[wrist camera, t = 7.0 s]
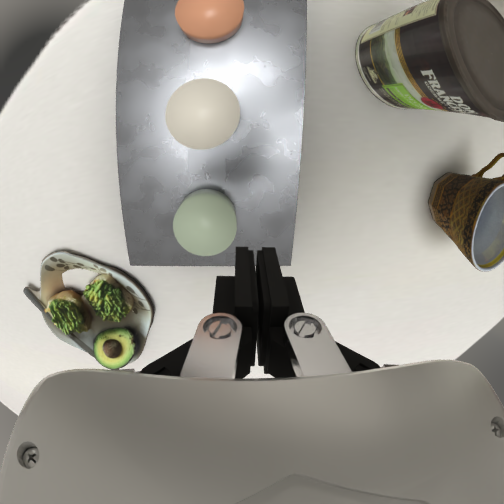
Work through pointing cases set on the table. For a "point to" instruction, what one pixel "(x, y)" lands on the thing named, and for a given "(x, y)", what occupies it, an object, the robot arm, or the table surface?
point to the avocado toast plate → (94, 310)
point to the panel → (220, 157)
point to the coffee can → (437, 58)
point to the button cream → (202, 113)
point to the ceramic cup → (472, 215)
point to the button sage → (205, 222)
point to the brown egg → (209, 19)
